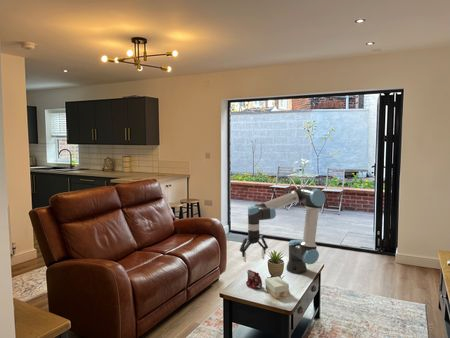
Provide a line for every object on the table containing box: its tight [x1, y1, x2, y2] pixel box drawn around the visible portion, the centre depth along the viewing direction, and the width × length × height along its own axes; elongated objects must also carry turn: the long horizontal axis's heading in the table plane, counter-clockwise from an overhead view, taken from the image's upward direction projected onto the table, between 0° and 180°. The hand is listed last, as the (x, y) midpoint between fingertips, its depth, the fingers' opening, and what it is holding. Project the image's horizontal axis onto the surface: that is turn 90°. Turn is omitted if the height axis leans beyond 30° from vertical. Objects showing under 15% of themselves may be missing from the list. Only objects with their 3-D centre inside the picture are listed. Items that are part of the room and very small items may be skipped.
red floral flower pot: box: [245, 269, 263, 290], centre depth 239 cm, size 7×12×10 cm, turn 42°
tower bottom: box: [265, 284, 290, 299], centre depth 229 cm, size 10×14×4 cm
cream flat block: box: [264, 276, 290, 293], centre depth 229 cm, size 10×14×4 cm
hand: (253, 260), depth 237 cm, fingers open, 13 cm apart
